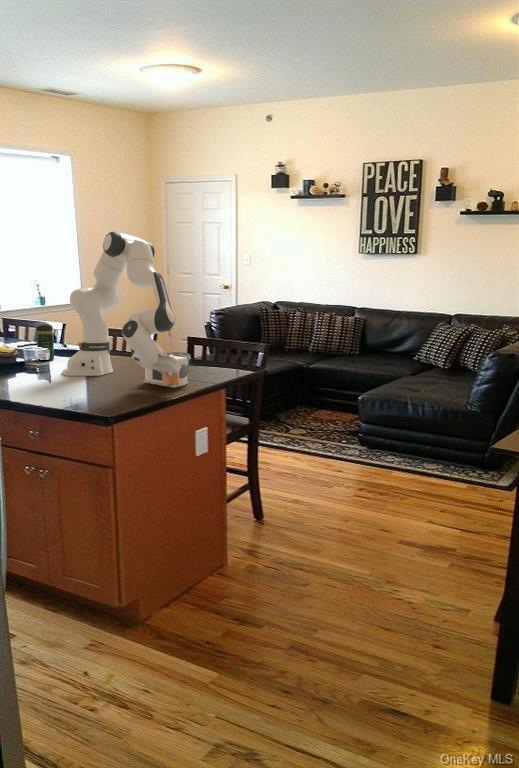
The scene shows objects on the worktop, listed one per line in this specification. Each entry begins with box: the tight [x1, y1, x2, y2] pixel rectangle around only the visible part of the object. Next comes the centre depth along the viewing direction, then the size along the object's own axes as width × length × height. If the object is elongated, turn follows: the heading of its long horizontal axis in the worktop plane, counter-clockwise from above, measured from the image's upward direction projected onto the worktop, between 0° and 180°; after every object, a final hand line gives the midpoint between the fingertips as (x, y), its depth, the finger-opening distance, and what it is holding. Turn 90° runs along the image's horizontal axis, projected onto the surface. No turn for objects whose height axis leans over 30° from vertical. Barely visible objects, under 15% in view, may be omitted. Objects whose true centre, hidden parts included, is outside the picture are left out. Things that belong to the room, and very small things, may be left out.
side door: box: [162, 371, 180, 387], centre depth 265 cm, size 8×5×8 cm, turn 55°
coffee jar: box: [36, 322, 55, 361], centre depth 327 cm, size 10×8×19 cm
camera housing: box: [143, 354, 189, 388], centre depth 274 cm, size 18×10×12 cm, turn 55°
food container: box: [165, 351, 192, 377], centre depth 295 cm, size 12×6×10 cm, turn 65°
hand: (167, 374), depth 265 cm, fingers closed on side door, 2 cm apart
